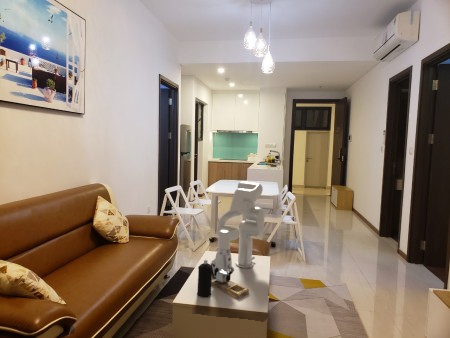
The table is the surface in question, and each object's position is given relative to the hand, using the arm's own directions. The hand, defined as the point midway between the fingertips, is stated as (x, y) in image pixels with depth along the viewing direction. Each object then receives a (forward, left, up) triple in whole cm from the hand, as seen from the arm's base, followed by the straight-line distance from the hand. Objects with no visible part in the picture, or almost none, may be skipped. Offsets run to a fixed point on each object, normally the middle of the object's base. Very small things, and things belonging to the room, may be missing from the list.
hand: (222, 278), depth 186 cm
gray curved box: (-11, -14, -5) cm, 19 cm away
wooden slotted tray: (0, +6, -5) cm, 8 cm away
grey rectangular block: (0, 0, -5) cm, 5 cm away
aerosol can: (+15, 0, -5) cm, 16 cm away
